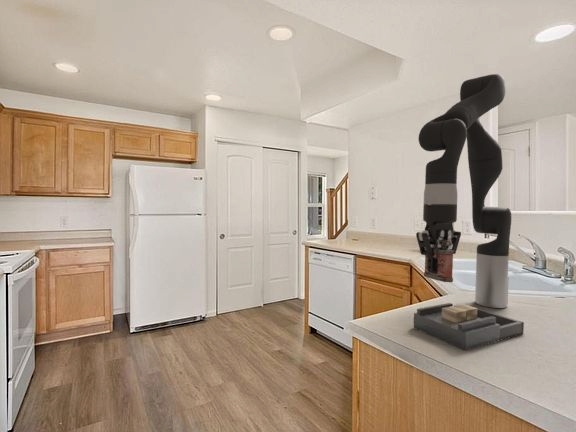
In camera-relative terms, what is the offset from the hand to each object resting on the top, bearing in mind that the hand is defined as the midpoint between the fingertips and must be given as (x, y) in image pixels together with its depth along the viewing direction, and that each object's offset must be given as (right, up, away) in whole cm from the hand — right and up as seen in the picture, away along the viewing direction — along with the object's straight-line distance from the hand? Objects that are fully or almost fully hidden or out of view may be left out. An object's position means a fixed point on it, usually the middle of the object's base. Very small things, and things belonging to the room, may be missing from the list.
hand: (437, 271), depth 80 cm
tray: (+16, -17, +9) cm, 25 cm away
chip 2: (+10, -13, +5) cm, 17 cm away
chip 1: (+6, -13, +3) cm, 14 cm away
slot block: (+6, -17, +4) cm, 18 cm away
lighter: (0, -2, 0) cm, 2 cm away
